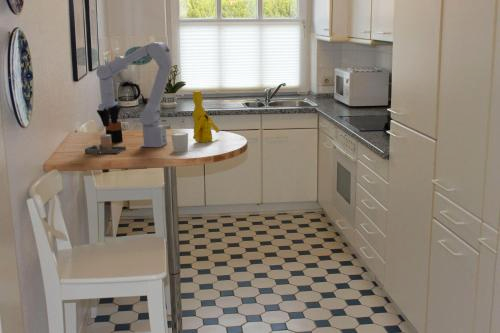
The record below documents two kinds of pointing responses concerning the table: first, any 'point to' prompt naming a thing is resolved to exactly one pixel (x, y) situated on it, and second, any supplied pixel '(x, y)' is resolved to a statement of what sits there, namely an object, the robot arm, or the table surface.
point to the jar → (106, 142)
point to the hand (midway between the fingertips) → (110, 124)
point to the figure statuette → (202, 121)
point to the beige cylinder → (180, 142)
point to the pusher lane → (94, 149)
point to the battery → (114, 131)
